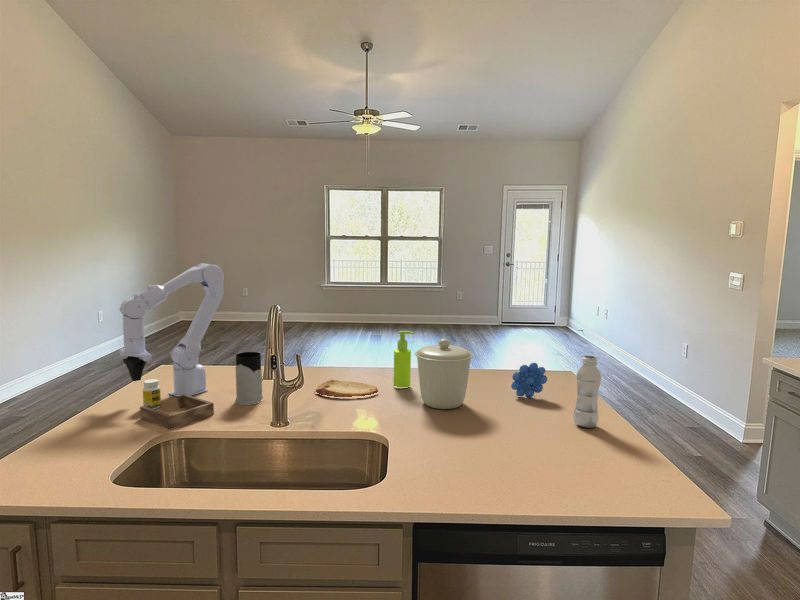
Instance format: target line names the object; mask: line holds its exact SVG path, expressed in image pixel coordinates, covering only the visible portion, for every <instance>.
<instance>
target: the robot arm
mask: <svg viewBox="0 0 800 600" xmlns="http://www.w3.org/2000/svg"><path fill="white" fill-rule="evenodd" d="M225 278H226V277H225V274H224V272H223V270H222V268H221V267H220V266H219V265H217V264H210V263H206V262H201V263H199V264H197V265H196V266H194V265H193V266H192V267H190V268H189V269H187V270H185V271H183V272H182V273H181V274H179V275H177V276H175V277H174V278H172V279H170V280H169V281H167V282H166V283H164V284H162V285H161V284H154V285H152V284H149V285H147V288H146V289H145V290H143V291H141V292H139V293H134V294H133V295H132V296H133V297H129V298H126V299H124V300H123V301H122V303H121V304H120V306H119V311H120V312H121V314H122V333H123V347H122V348H119V349H118V350H119V355H120V356H121V357H127V358H123V359H122V361H123V363H124V365H125V366H126V367H127V370H128V372H129V376H130V379H131V381H132V382H138V381H141V380H142V376H143V371H144V368H145V366H146V364H147V362H149V361H150V362H151V361H152V354H151V353H149V352H148V351H147V350H146V338H145V322H144V316H145V314H146V312H147V311H150V310H151V309H154V307H156V306H159V304H162V303H163V302H165V301H167V299H168V295H170V294H171V293H173V292H175V291H177V290H179V289H181V288H182V287H184V286H186V285H189V284H191V283H200V284H201V285H202V287H203V290H204V292H205V296H204V297H203V299H202V301H201V303H200V305H199V307H198V309H197V311H196V314H195V315H194V317H193V319H192V320H191V323H190V326H189V327H188V329H187V332H186V333H185V335H184V336H183V337H182V338H181V339H180V340H179V341H178V343H177V345H175V346H174V347H173V348H172V350H171V351H170V359H171V361H172V362H174V363H173V366H172V373H173V374H172V375H173V390H172V391H169V392H168V394H169V395H171V396H174V397H177V396H180V395H183V394H186V395H189V396H195V395H198V394H200V393H201V394H202V393H205V392H208V389H207V382H206V380H207V379H206V378H207V377H206V369H205V367H204V366H203V365H202V364H200V363H199V360H200V356H199V355H200V352H201V350H202V347H201V342H202V340H203V338H204V337H205V335H206V333H207V329H208V328H209V326H210V324H211V322H212V319H213V318H214V316H215V313H216V312H217V310H218V308H219V305H220V303H221V302H222V299H223V298H224V296H225V295H224V294H225V290H224V289H225V287H224V286H225V285H224V281H225V280H224V279H225Z"/></svg>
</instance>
